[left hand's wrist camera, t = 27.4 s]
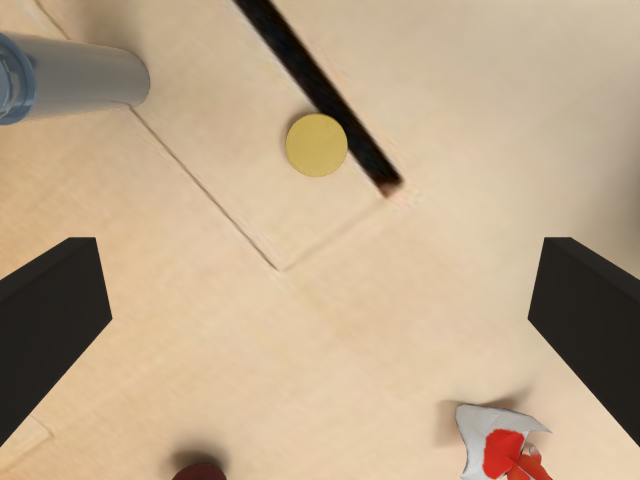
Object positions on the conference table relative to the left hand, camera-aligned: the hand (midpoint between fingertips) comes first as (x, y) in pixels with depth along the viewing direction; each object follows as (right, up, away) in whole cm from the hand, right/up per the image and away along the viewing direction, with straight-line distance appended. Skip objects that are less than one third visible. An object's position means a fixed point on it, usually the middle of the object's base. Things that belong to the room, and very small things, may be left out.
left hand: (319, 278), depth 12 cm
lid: (0, +10, +25) cm, 27 cm away
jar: (-18, +15, +24) cm, 34 cm away
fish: (+21, -23, +39) cm, 50 cm away
